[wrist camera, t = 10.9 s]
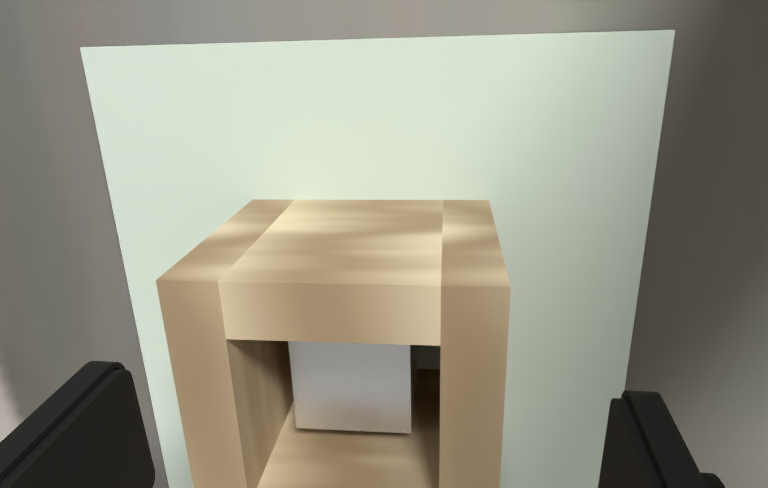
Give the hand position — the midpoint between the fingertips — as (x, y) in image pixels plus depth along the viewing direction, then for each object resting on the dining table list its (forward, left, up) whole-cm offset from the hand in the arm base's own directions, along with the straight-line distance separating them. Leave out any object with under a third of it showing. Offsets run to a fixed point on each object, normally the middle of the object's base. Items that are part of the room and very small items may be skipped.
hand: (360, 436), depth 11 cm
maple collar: (+1, +1, -7) cm, 7 cm away
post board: (+1, +1, -9) cm, 9 cm away
